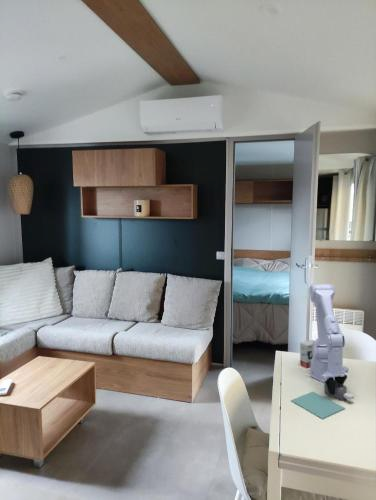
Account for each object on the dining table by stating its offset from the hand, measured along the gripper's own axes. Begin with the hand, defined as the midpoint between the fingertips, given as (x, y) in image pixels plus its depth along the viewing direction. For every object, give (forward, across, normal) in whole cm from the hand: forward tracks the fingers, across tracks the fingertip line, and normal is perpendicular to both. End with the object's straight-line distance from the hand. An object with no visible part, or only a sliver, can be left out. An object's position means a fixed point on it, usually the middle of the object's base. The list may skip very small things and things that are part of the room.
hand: (335, 392), depth 153 cm
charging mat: (+1, -12, -1) cm, 12 cm away
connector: (+1, 0, -1) cm, 2 cm away
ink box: (+2, +15, +27) cm, 31 cm away
